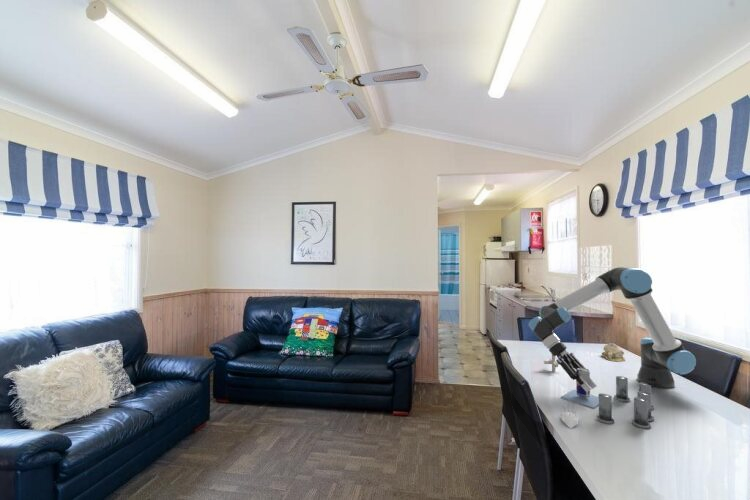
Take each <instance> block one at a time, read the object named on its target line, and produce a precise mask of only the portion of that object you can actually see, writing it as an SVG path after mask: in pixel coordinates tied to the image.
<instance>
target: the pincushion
mask: <svg viewBox="0 0 750 500" xmlns="http://www.w3.org/2000/svg"><path fill="white" fill-rule="evenodd" d="M565 408H566V407H564V406H563V412H562V413H561V414H560V418H561V420H562V422H563V423H564V424H565V425H566V426H567V427H569V428H570V429H573V428H574V427H576V425H578V423H579V418H578V417H577V416H576V413H577V412H574V413H572V412H570V411H566V409H565Z"/></svg>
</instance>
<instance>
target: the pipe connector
mask: <svg viewBox="0 0 750 500" xmlns="http://www.w3.org/2000/svg"><path fill="white" fill-rule="evenodd" d="M543 363H544V365H551V372H552V373H556V368H558V367H559V365H560V364H559V363H558V362H557V361H556V356H553V355H552V354H551V358H549V360H543ZM560 366H561V365H560Z"/></svg>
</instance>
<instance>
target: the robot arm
mask: <svg viewBox="0 0 750 500" xmlns="http://www.w3.org/2000/svg"><path fill="white" fill-rule="evenodd" d="M652 285H653V279H652V277H651V275H650V274H649V273H648V272H647V271H646V270H644V269H641V268H637V267H622V266H621V267H619V266H618V267H615V268H611V269H610V270H608V271H605V272H604V273H602V274H600V275H598V276H596V277H595V279H594V280H592V281H591V282H589V283H588V284H586V285H584V286H582V287H580V288H578V289H577V290H575V291H573V292H571V293H569V294H567V295H566V296H564V297H562V298H560V299H558V300H556V301H555V302H553V303H551V304H548V305H542V306H541V307H540V308H539V311H538V315H539V316H536V317H534V318H532V319H531V320H530V321H529V322H528V327H529V328H530V330H531V331H532V332H533V333H534V335H535V336H536V337H537V339H538V340H540V341H541V343H542V344H543V346H545V348H546V349H548V351H549V352H550V353H551V356H552V355H553V356H555V357H557V358H556V359H555V361H557V362H558V363H559V364H560V366H561V367H562V369H563V371H565V373H566V374H567V375H568V376H569V377H570V379H571V380H572V381H574V380H575V381H576V380H577V382H578V383H579V384H580V385H581V386H582V388H583V389H584V390H585V391H586V392H588V391H590V392H591V390H593V389H595V388H596V387H597V386H598V385H597V384H596V382H595V381H594V380H593V379H592V377H590V386H589V385H588V384H587V383H586V382H585V380H584V379H583V378H582V377H581V376H580V377H579V375H578V373H577V372H576V370H577V368H585V369H587V368H586V367H585V366H584V364H582V362H580V360H579V359H578V358H577V357H576V356H575V355H574V353H573V352H570V353H569V352H568V351H567V346H566V345H565V343H564V342H563V341H561V339H560V338H559V336H558V335H557V334H556V333H555V332H554V331H555V330H557V329H558V328H560V327H561V326H563V325H565V324H566V323H568V322H569V321H570V320H571V319H572V315H571V313H570V311H573V310H574V309H577V308H578V307H580V306H582V305H584V304H587V303H588V302H590V301H591V300H593V299H595V298H597V297H599V296H601V295H604V294H609V293H612V292H614V291H621V292H622V295H623V296H624V298H625V299H626V300H629V301H630V302H631V304H632V305H633V307H634V309H635V311H636V313H637V315H638V316H639V318H640V320H641V323H642V324H643V326H644V328H645V329H646V331H647V333H648V334H649V336H650V337H643V338H641V339H640V367H639V370H638V372H637V375H636V377H637V378H636V380H637V381H638V382H639V383H640V382H642V383H648V384H650V385H651V387H656V388H663V389H670V388H671V389H672V388H675V386H676V385H675V384H676V382H675V380H674V377H673V374H672V373H675V374H676V375H687V374H689V373H691V372H693V370H694V369H695V367H696V364H697V359H696V356H695V355H694V354H693V353H692V352H690V351H689V350H686V349H685V347H684V344H683V343H682V341H681V340H679V339H677V338H675V336H674V334H673V332H672V331H671V329H670V328H669V325H668V324H667V321H666V320H665V317H664V316H663V314H662V313H661V311H660V309H659V307H658V305H657V303H656V301H655V299H654V298H653V295H652V293H653V288H652Z"/></svg>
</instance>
